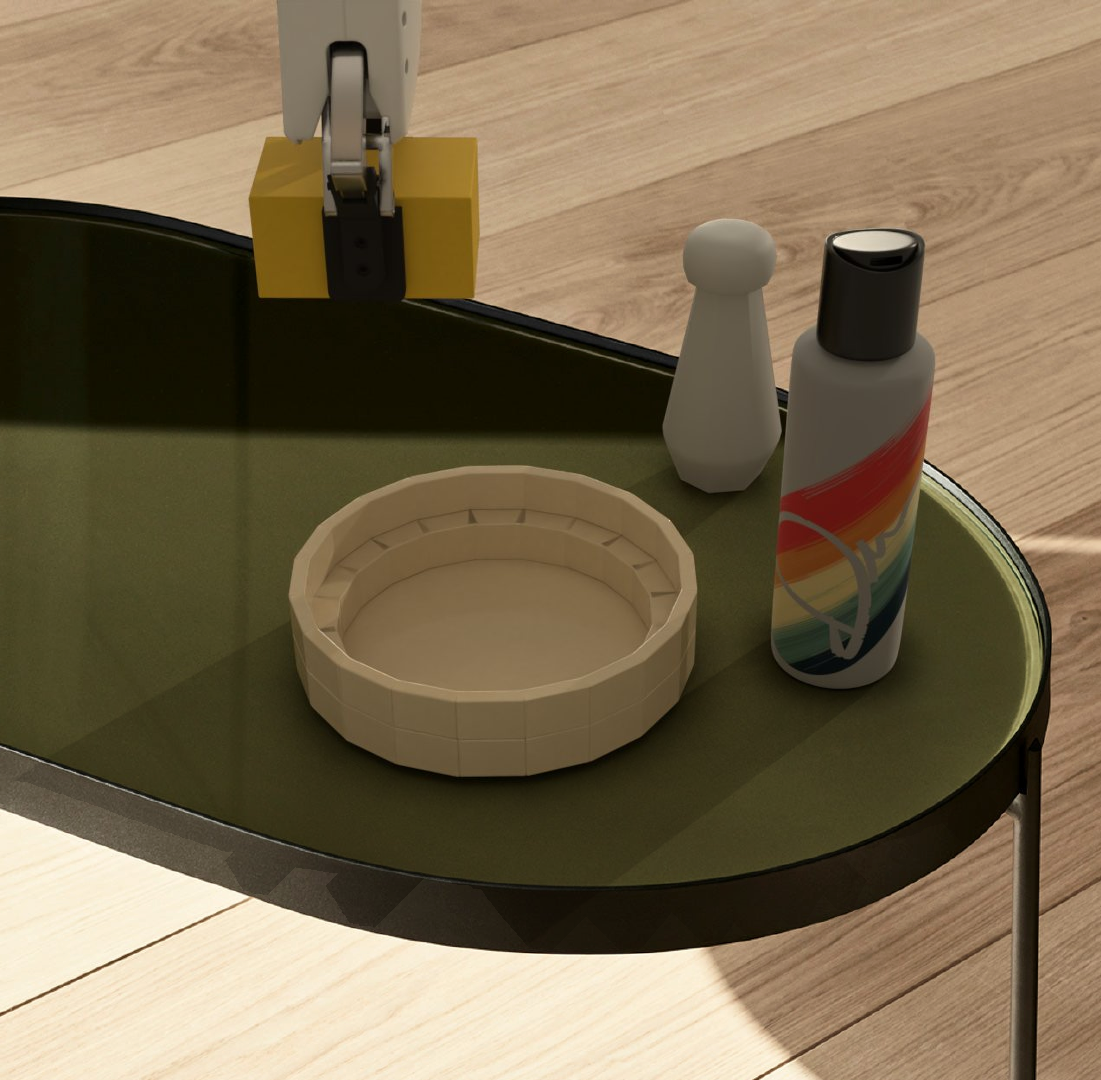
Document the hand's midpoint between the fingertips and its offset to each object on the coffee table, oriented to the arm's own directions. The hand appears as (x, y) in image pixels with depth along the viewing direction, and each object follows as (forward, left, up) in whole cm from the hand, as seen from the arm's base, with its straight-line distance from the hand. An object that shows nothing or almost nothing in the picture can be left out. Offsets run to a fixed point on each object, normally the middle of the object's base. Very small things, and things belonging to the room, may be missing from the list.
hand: (374, 257), depth 85 cm
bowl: (+5, -8, -15) cm, 18 cm away
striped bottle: (+20, -8, -15) cm, 26 cm away
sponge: (0, 0, 0) cm, 0 cm away
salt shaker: (+16, +7, -15) cm, 23 cm away
